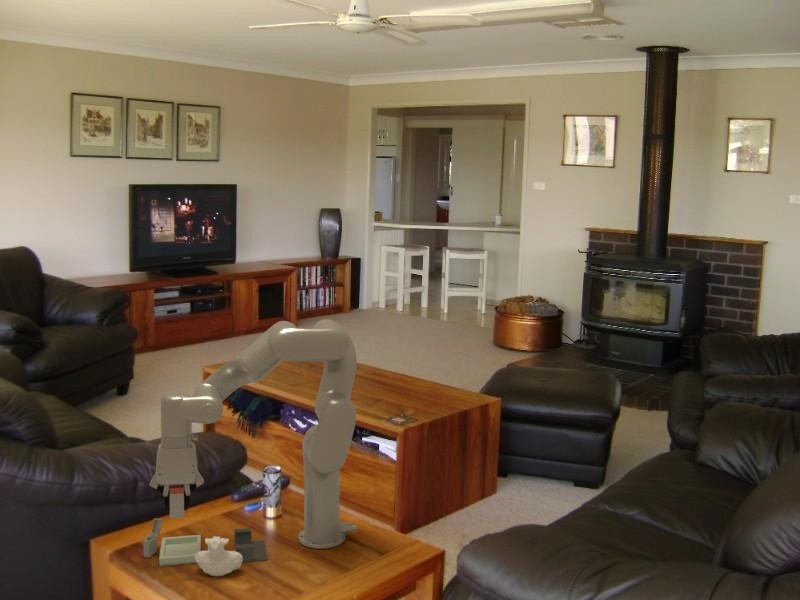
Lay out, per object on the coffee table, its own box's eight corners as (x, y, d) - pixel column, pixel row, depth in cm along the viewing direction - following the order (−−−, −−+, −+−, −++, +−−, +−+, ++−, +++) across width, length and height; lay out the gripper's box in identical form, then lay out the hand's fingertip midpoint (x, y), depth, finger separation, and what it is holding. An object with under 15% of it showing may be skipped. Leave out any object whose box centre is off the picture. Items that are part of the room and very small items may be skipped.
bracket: (264, 540, 232) (264, 526, 231) (267, 560, 221) (266, 545, 220) (234, 543, 230) (234, 529, 229) (235, 563, 219) (235, 548, 218)
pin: (184, 511, 223) (184, 482, 222) (184, 517, 220) (183, 487, 219) (170, 512, 223) (170, 483, 221) (169, 518, 219) (169, 488, 218)
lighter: (149, 557, 221) (148, 528, 220) (143, 556, 222) (142, 527, 220) (163, 545, 228) (162, 517, 227) (157, 544, 229) (156, 516, 227)
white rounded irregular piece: (194, 581, 214) (186, 561, 206) (199, 552, 219) (192, 531, 211) (242, 582, 214) (236, 561, 206) (246, 553, 219) (240, 532, 211)
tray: (200, 542, 230) (200, 534, 230) (200, 563, 219) (200, 555, 218) (162, 545, 228) (161, 537, 228) (159, 566, 217) (159, 558, 216)
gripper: (210, 434, 223) (210, 501, 227) (143, 436, 220) (144, 504, 223) (210, 444, 216) (210, 513, 219) (141, 446, 213) (142, 516, 216)
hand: (177, 508), depth 221 cm, fingers closed on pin, 3 cm apart
